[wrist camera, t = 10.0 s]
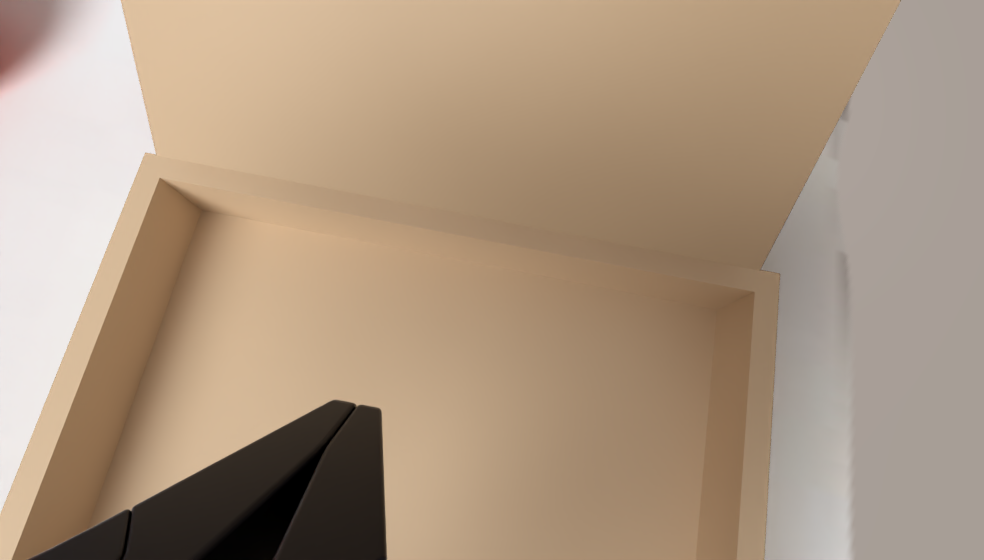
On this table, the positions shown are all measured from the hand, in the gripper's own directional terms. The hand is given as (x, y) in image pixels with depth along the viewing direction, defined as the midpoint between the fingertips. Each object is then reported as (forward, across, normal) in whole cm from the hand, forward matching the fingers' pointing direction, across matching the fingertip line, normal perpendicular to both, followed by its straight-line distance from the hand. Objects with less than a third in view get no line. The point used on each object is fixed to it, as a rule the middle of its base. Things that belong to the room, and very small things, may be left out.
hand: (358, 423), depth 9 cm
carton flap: (+10, 0, 0) cm, 10 cm away
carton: (+7, 0, -8) cm, 11 cm away
